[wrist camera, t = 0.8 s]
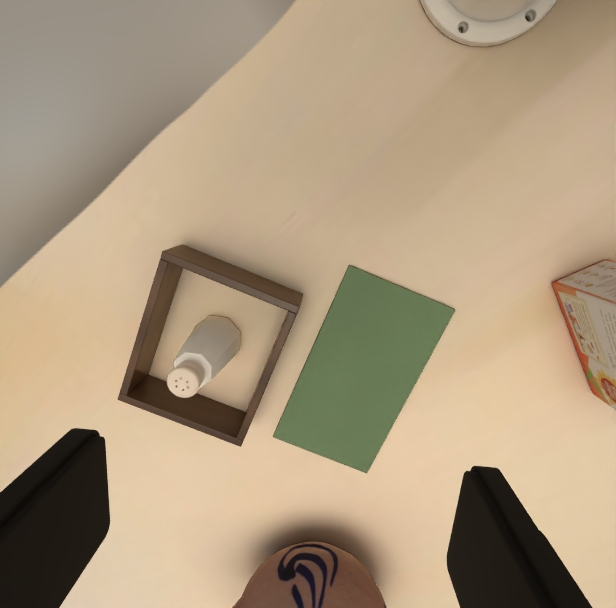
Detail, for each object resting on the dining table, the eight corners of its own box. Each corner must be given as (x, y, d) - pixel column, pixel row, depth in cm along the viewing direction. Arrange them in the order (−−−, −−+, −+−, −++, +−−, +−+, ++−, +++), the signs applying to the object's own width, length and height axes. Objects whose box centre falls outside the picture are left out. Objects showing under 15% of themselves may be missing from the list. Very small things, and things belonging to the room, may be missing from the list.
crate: (182, 244, 41) (162, 250, 36) (303, 293, 41) (299, 306, 37) (139, 377, 45) (117, 399, 40) (250, 420, 46) (240, 447, 41)
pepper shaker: (185, 345, 44) (139, 393, 33) (206, 305, 42) (165, 342, 32) (228, 368, 44) (197, 423, 34) (251, 329, 43) (225, 374, 32)
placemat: (349, 264, 40) (349, 265, 40) (454, 308, 41) (455, 309, 41) (273, 435, 46) (272, 437, 46) (366, 471, 47) (366, 473, 46)
